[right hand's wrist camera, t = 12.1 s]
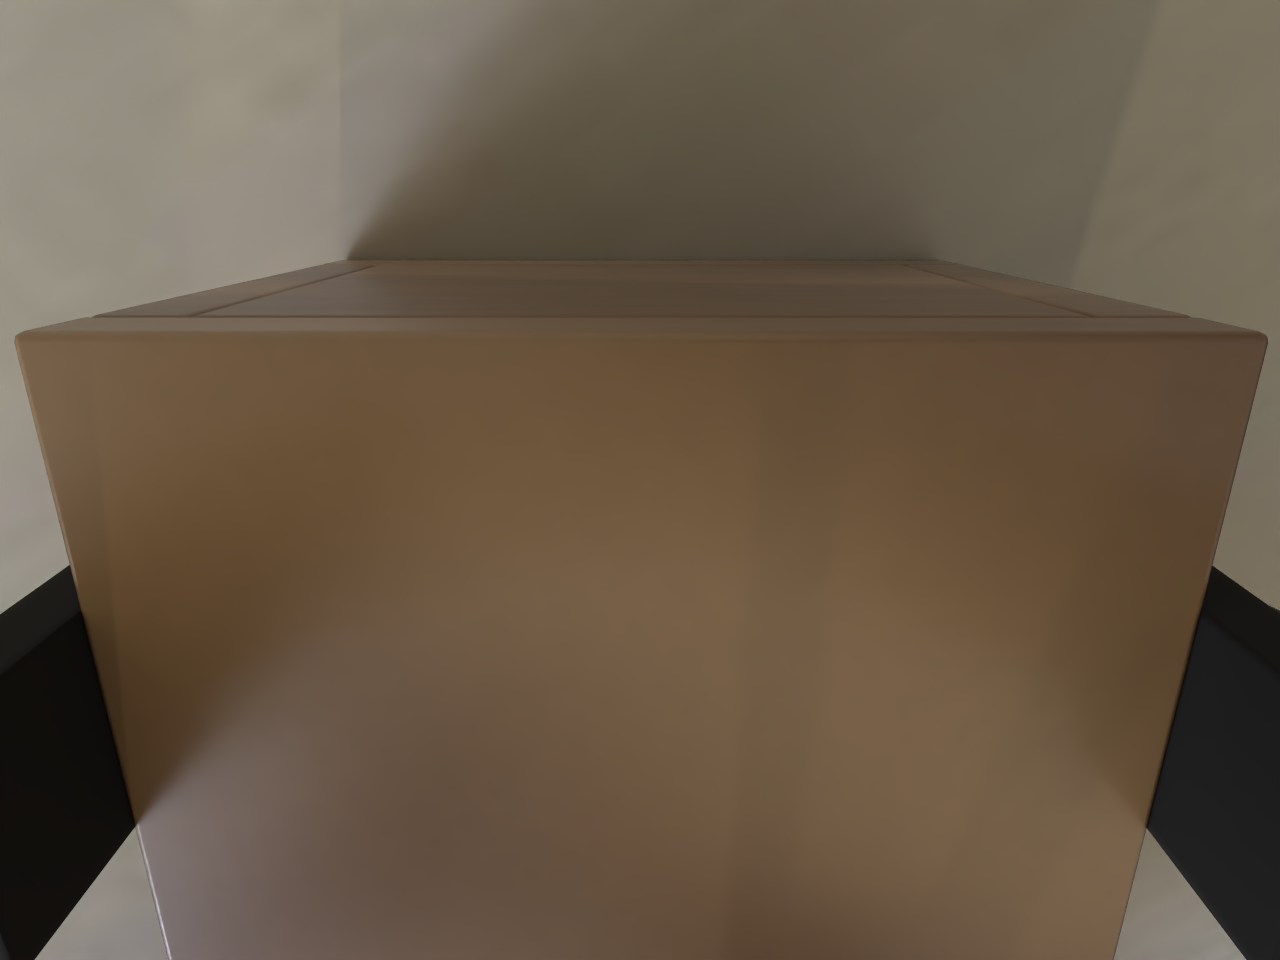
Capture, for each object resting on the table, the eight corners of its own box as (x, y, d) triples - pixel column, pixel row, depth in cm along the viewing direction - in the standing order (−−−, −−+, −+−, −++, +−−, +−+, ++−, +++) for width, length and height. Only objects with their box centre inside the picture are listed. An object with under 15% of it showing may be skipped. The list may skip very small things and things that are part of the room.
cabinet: (862, 941, 21) (1002, 1414, 13) (419, 940, 21) (278, 1412, 13) (942, 259, 15) (1275, 332, 7) (340, 259, 15) (8, 332, 7)
